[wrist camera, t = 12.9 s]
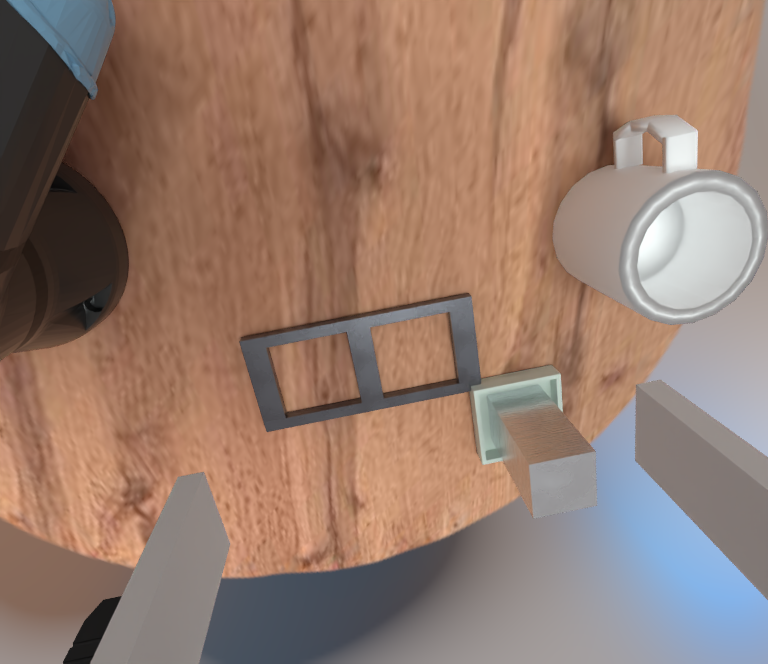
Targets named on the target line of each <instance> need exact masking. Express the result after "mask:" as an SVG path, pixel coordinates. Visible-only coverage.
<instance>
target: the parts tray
mask: <svg viewBox="0 0 768 664" xmlns="http://www.w3.org/2000/svg"><path fill="white" fill-rule="evenodd" d="M538 384H539V385H540V386H541V388H542V389H543V390H544V391H545V392H546V394H547V395H548V396H549V397H550V398H551V399H552V401H553V402H554V403H555V404H556V405H557V406H558V408H559V409H560V410H561V411H562V412H563V410H562V391H561V374H560V373H559V372H558V371H557V370H556V369H555V368H554V367H553V366H552V365H547V366H542V367H537V368H532V369H527V370H522V371H517V372H512V373H507V374H502V375H497V376H492V377H487V378H482V379H481V384H479V385H474V386H471V391H469V393H470V401H471V409H472V417H473V424H474V432H475V440H476V448H477V454H478V456H479V458H480V460H481V462H482V465H484V464H489V463H494V462H499V461H503V460H502V459H501V457H500V455H499V453H498V451H497V449H496V447H495V445H494V443H493V442H492V439H491V430H490V421H489V413H488V404H487V395H488V394H493V393H498V392H503V391H508V390H513V389H518V388H523V387H528V386H533V385H538Z"/></svg>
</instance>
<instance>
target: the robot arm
mask: <svg viewBox="0 0 768 664" xmlns="http://www.w3.org/2000/svg"><path fill="white" fill-rule="evenodd" d="M115 24H116V18H115V11H114V7H113V4H112V1H111V0H0V361H1V360H2V359H4V358H5V357H7V356H8V355H10V354H11V353H16V352H23V351H30V350H38V349H45V348H51V347H55V346H59V345H62V344H65V343H68V342H70V341H73V340H75V339H77V338H79V337H81V336H82V335H84V334H86V333H87V332H88V331H90V330H91V329H92V328H94V327H95V326H96V325H98V324H99V323H100V322H102V321H103V320H104V319H105V318H106V317H107V316H108V315H109V314H110V313H111V312H112V311H113V309H114V308H115V306H116V305H117V303H118V302H119V300H120V298H121V296H122V294H123V291H124V288H125V285H126V281H127V275H128V252H127V246H126V241H125V238H124V235H123V231H122V229H121V226H120V224H119V222H118V220H117V218H116V216H115V214H114V212H113V211H112V209H111V208H110V206H109V205H108V203H107V202H106V200H105V199H104V198H103V196H102V195H101V194H100V193H99V192H98V191H97V190H96V189H95V188H94V187H93V186H92V185H91V184H90V183H89V182H88V181H87V180H86V179H85V178H84V177H82V176H81V175H80V174H79V173H77V172H76V171H74V170H73V169H72V168H70V167H68V166H67V165H65V164H64V163H62V160H63V157H64V155H65V153H66V150H67V148H68V146H69V143H70V141H71V139H72V136H73V134H74V132H75V129H76V127H77V125H78V123H79V120H80V118H81V116H82V113H83V111H84V109H85V106H86V104H87V102H88V99H89V98H90V99H92V100H94V99H95V98H96V95H97V92H98V88H97V85H96V81H97V78H98V75H99V73H100V70H101V67H102V65H103V62H104V59H105V57H106V54H107V51H108V49H109V46H110V43H111V40H112V38H113V35H114V31H115ZM635 438H636V439H635V461H636V462H637V463H638V464H639V465H640V466H641V467H642V468H643V469H644V470H645V471H646V472H647V473H648V474H649V476H650V477H651V478H652V479H653V480H654V481H655V482H656V483H657V484H658V485H659V486H660V487H661V488H662V489H663V490H664V491H665V492H666V493H667V494H668V495H669V496H670V498H671V499H672V500H673V501H674V502H675V503H676V504H677V505H678V506H679V507H680V508H681V509H682V510H683V511H684V512H685V513H686V514H687V516H689V518H690V519H691V520H692V521H693V522H694V523H695V524H696V525H697V526H698V527H699V528H700V529H701V530H702V531H703V532H704V533H705V534H706V535H707V536H708V538H710V540H711V541H712V542H713V543H714V544H715V545H716V546H717V547H718V548H719V549H720V550H721V551H722V552H723V553H724V554H725V555H726V557H728V559H729V560H730V561H731V562H732V563H733V564H734V565H735V566H736V567H737V568H738V569H739V570H740V571H741V572H742V573H743V574H744V575H745V577H746V578H747V579H748V580H749V581H750V582H751V583H752V584H753V585H754V586H755V587H756V588H757V589H758V590H759V591H760V592H761V593H762V594H763V595H764V596H765V598H766V599H767V600H768V457H767V456H765V455H764V454H763V453H761V452H760V451H758V450H757V449H756V448H754V447H753V446H752V445H750V444H749V443H747V442H746V441H745V440H743V439H742V438H740V437H739V436H737V435H736V434H735V433H733V432H732V431H731V430H729V429H728V428H727V427H725V426H724V425H722V424H721V423H720V422H718V421H717V420H715V419H714V418H713V417H711V416H710V415H709V414H707V413H706V412H704V411H703V410H702V409H700V408H699V407H698V406H696V405H695V404H693V403H692V402H691V401H689V400H688V399H687V398H685V397H684V396H682V395H681V394H680V393H678V392H677V391H675V390H674V389H673V388H671V387H670V386H669V385H667V384H666V383H664V382H663V381H662V380H657V381H652V382H647V383H642V384H637V385H636V435H635ZM229 546H230V542H229V539H228V536H227V534H226V531H225V528H224V525H223V523H222V520H221V517H220V514H219V512H218V509H217V506H216V504H215V501H214V498H213V495H212V493H211V490H210V487H209V485H208V482H207V479H206V476H205V474H204V472H201V473H196V474H191V475H186V476H181V477H178V478H177V480H176V483H175V485H174V487H173V489H172V491H171V493H170V495H169V497H168V500H167V502H166V504H165V506H164V508H163V510H162V512H161V514H160V516H159V519H158V521H157V523H156V525H155V527H154V529H153V531H152V533H151V536H150V538H149V540H148V542H147V544H146V546H145V548H144V550H143V553H142V555H141V557H140V559H139V561H138V563H137V565H136V567H135V570H134V572H133V574H132V576H131V578H130V580H129V582H128V584H127V587H126V589H125V591H124V593H123V595H122V596H120V597H115V598H110V599H105V600H103V601H102V602H101V603H100V604H99V606H97V608H96V609H95V610H94V611H93V612H92V613H91V614H90V615H89V616H88V618H87V619H86V620H85V621H84V623H83V625H82V627H81V629H80V631H79V633H78V634H77V636H76V638H75V640H74V642H73V647H72V648H70V650H69V651H68V654H67V655H66V657H65V659H64V661H63V664H199V661H200V657H201V653H202V649H203V646H204V642H205V638H206V634H207V630H208V626H209V623H210V619H211V615H212V611H213V607H214V604H215V600H216V596H217V592H218V588H219V584H220V581H221V577H222V573H223V569H224V566H225V562H226V558H227V554H228V550H229Z"/></svg>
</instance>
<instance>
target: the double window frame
mask: <svg viewBox="0 0 768 664" xmlns="http://www.w3.org/2000/svg"><path fill="white" fill-rule="evenodd" d="M446 312H448V317H449V324H450V331H451V339H452V346H453V354H454V361H455V368H456V376H457V379H453V380H448V381H443V382H438V383H433V384H428V385H423V386H418V387H413V388H408V389H403V390H398V391H393V392H388V393H383V392H382V387H381V382H380V377H379V372H378V367H377V362H376V357H375V351H374V346H373V341H372V336H371V331H370V327H374V326H379V325H384V324H390V323H395V322H400V321H405V320H410V319H415V318H420V317H425V316H430V315H435V314H441V313H446ZM344 332H347V335H348V340H349V345H350V349H351V354H352V359H353V363H354V368H355V372H356V377H357V382H358V386H359V391H360V396H361V398H358V399H353V400H348V401H343V402H338V403H333V404H328V405H323V406H318V407H313V408H308V409H303V410H298V411H293V412H288V413H287V412H286V408H285V405H284V401H283V397H282V394H281V390H280V387H279V383H278V380H277V376H276V373H275V369H274V365H273V362H272V358H271V355H270V351H269V348H268V347H272V346H278V345H283V344H288V343H293V342H298V341H303V340H308V339H313V338H318V337H323V336H328V335H334V334H339V333H344ZM239 342H240V345H241V349H242V352H243V355H244V358H245V362H246V365H247V368H248V372H249V375H250V378H251V382H252V385H253V388H254V392H255V395H256V398H257V402H258V405H259V408H260V411H261V415H262V418H263V421H264V425H265V428H266V431H267V432H269V431H274V430H279V429H284V428H289V427H294V426H299V425H304V424H309V423H314V422H319V421H324V420H329V419H334V418H339V417H344V416H349V415H354V414H359V413H364V412H369V411H374V410H379V409H384V408H389V407H394V406H399V405H404V404H409V403H414V402H419V401H424V400H429V399H434V398H439V397H444V396H449V395H454V394H459V393H464V392H469V391H471V386H474V385H479V384H481V376H480V367H479V359H478V350H477V341H476V333H475V324H474V315H473V307H472V298H471V295H470V294H469V293H466V294H461V295H456V296H450V297H445V298H440V299H435V300H430V301H425V302H420V303H415V304H410V305H404V306H399V307H394V308H389V309H384V310H379V311H374V312H369V313H364V314H358V315H353V316H348V317H343V318H338V319H333V320H328V321H323V322H318V323H312V324H307V325H302V326H297V327H292V328H287V329H282V330H277V331H272V332H266V333H261V334H256V335H251V336H246V337H241V339H240V341H239Z"/></svg>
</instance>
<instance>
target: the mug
mask: <svg viewBox="0 0 768 664" xmlns="http://www.w3.org/2000/svg"><path fill="white" fill-rule="evenodd" d="M645 132H648V133H649V134H651V135H652V136H653V137H654V138H655V139H657V140H658V141H659V142H660V143H661V144H662V154H663V167H661V166H646V165H641V164H643V148H642V134H643V133H645ZM697 143H698V130H696V129H695V128H694V127H692V126H691V125H689V124H688V123H687V122H685V121H684V120H683V119H681V118H680V117H678V116H677V115H654V116H649V117H645V118H641V119H636V120H632V121H629V122H627V123H626V124H624V125H623V126H622V127H620V128H619V129H617V130H616V131H615V132H613V150H614V165H607V166H605V167H602V168H600V169H597V170H595V171H592V172H590V173H588V174H587V175H586V176H584V177H583V178H582V179H581V180H579V181H578V182H577V183H576V184H574V185H573V186H572V188H571V189H570V190H569V192H568V193H567V194H566V196H565V197H564V199H563V200H562V201H561V203H560V206H559V208H558V211H557V214H556V217H555V219H554V225H553V244H554V248H555V252H556V256H557V258H558V260H559V261H560V263H561V264H562V266H563V267H564V269H565V270H566V271H567V272H568V273H569V274H571V275H572V276H574V277H575V278H577V279H578V280H579V281H581V282H583V283H585V284H587V285H588V286H590V287H592V288H594V289H596V290H597V291H599V292H601V293H603V294H605V295H606V296H608V297H610V298H612V299H614V300H615V301H617V302H619V303H621V304H623V305H624V306H626V307H628V308H630V309H632V310H633V311H635V312H637V313H639V314H641V315H642V316H644V317H646V318H648V319H650V320H653V321H657V322H661V323H665V324H669V325H675V324H686V323H694V322H696V321H699V320H702V319H704V318H707V317H709V316H712V315H715V314H716V313H718V312H719V311H720V310H722V309H723V308H724V307H726V306H727V305H729V304H730V303H732V302H733V301H735V300H736V298H737V297H738V296H739V295H740V294H741V293H742V292H743V290H744V289H745V288H746V287H747V286H748V285H749V284H750V282H751V281H752V280H753V278H754V276H755V274H756V272H757V270H758V268H759V266H760V264H761V262H762V260H763V258H764V254H765V249H766V245H767V240H768V220H767V211H766V209H765V207H764V205H763V202H762V200H761V198H760V196H759V195H758V192H757V191H756V190H755V189H754V188H753V187H752V186H750V185H749V184H748V183H747V182H746V181H745V180H743V179H742V178H741V177H739V176H736V175H732V174H729V173H726V172H723V171H720V170H706V169H697Z"/></svg>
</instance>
